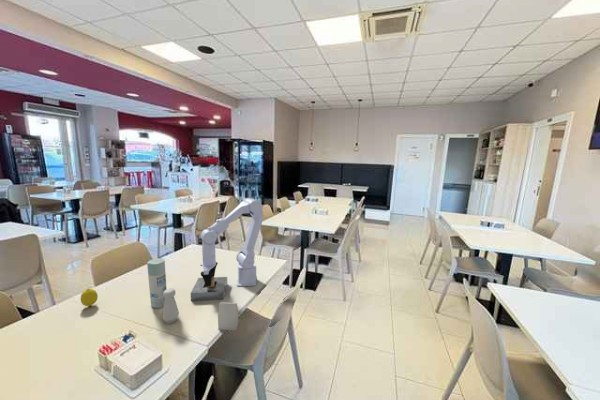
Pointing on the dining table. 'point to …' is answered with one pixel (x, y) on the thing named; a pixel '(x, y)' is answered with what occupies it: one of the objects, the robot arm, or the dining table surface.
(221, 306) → the white printed box
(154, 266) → the spray paint can
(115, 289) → the dining table surface
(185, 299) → the dining table surface
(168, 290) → the salt shaker
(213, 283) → the oak peg
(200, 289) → the steel block
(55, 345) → the dining table surface
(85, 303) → the lemon
